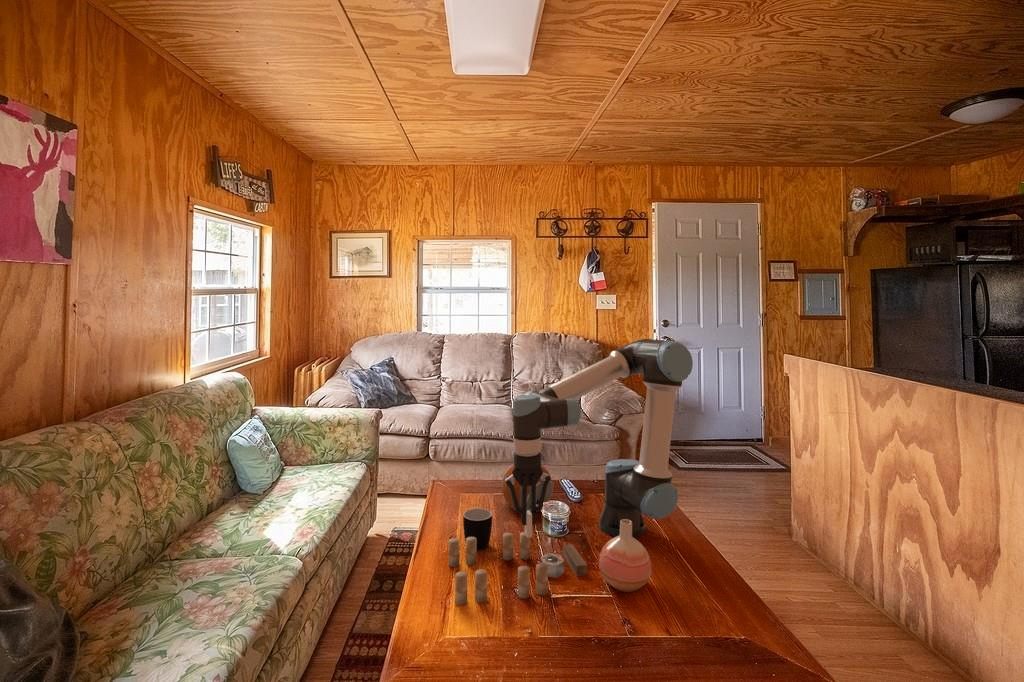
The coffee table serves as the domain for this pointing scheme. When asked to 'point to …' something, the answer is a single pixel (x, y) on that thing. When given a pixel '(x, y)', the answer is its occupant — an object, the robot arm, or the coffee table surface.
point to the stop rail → (574, 560)
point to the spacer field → (482, 574)
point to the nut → (553, 564)
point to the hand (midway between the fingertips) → (528, 535)
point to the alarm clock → (517, 488)
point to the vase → (625, 560)
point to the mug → (478, 526)
